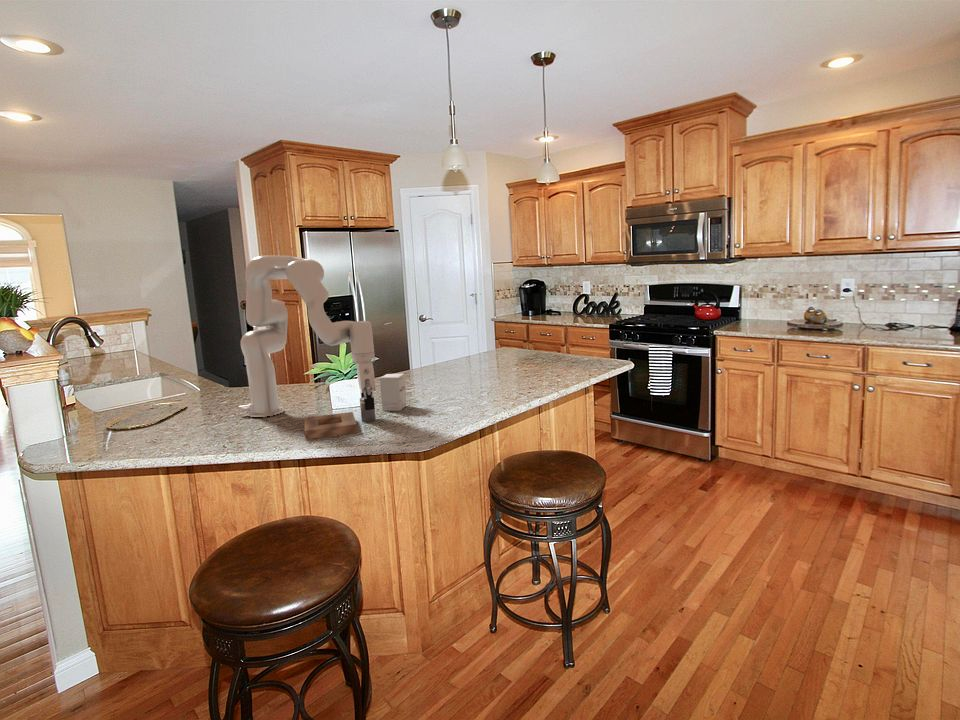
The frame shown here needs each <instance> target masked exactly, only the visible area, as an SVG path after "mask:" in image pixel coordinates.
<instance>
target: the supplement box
mask: <svg viewBox="0 0 960 720" xmlns="http://www.w3.org/2000/svg"><path fill="white" fill-rule="evenodd" d="M405 379H406V378H405V373H386V374H384V375H383V376H381V377H379V384H380V385H379V386H380V388H379V389H380V399H381V411H385V412H387V411H388V412H389V411H391V412H393V411H394V412H395V411H396V412H397V411H398V412H399V411H401V410H402V409H404V408H405V407H406V406H407V394H406V380H405Z"/></svg>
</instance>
